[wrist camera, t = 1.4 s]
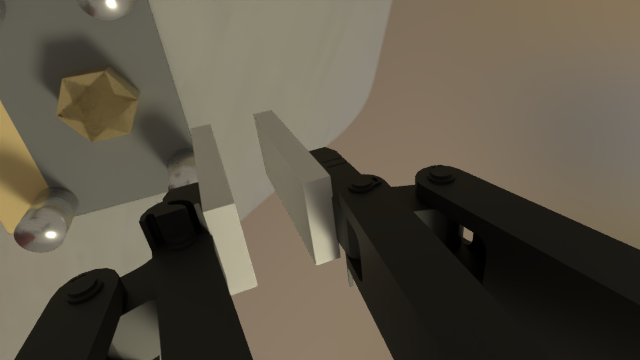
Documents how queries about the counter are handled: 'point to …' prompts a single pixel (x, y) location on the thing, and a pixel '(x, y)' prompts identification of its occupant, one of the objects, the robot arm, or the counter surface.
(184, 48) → the counter surface
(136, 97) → the tan faceted flat piece
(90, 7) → the ball
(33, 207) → the spacer
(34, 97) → the mat
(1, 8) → the spacer
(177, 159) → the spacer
